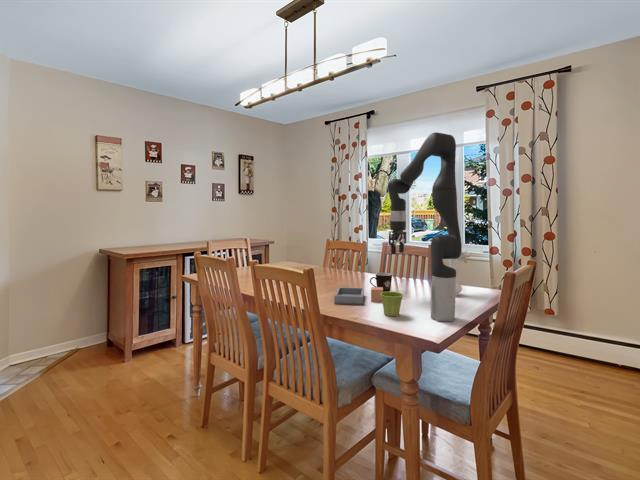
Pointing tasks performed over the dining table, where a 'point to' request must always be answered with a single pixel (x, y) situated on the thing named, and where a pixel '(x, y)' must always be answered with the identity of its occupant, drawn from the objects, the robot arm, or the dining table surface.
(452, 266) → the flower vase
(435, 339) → the dining table surface
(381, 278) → the coffee mug
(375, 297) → the terracotta block
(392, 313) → the plant pot
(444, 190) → the robot arm
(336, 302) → the gray tray
